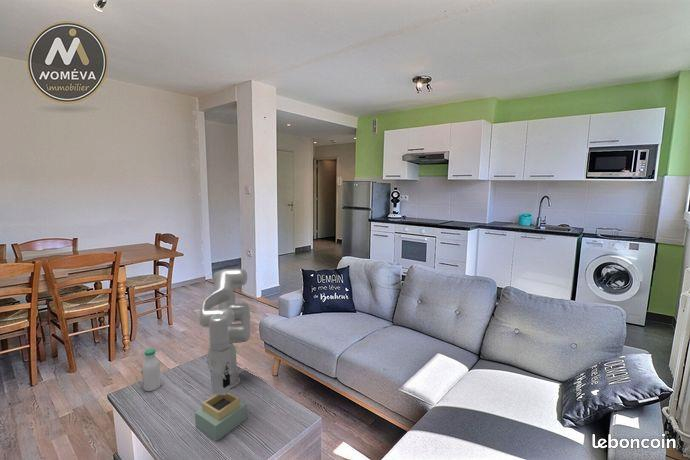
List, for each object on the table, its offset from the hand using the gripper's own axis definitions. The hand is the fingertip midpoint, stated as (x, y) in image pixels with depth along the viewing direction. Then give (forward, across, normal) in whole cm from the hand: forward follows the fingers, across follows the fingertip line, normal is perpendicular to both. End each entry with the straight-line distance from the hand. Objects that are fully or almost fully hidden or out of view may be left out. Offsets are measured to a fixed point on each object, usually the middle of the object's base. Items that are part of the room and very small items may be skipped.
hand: (220, 382), depth 140 cm
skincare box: (+4, 0, 0) cm, 4 cm away
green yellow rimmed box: (+19, 0, 0) cm, 19 cm away
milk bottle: (+19, -50, -4) cm, 54 cm away
